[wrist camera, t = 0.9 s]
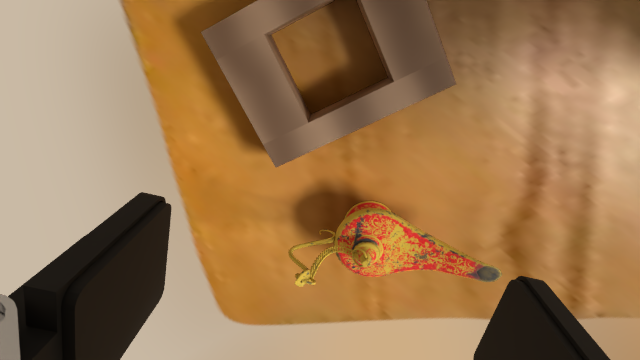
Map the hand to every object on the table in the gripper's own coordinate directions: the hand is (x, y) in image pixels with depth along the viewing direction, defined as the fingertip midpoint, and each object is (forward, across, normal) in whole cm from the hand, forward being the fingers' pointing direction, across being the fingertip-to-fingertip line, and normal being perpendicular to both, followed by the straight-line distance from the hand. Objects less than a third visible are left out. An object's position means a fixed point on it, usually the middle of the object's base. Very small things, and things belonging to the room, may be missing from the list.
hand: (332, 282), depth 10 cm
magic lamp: (+26, -8, +10) cm, 29 cm away
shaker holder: (+25, +2, -4) cm, 26 cm away
